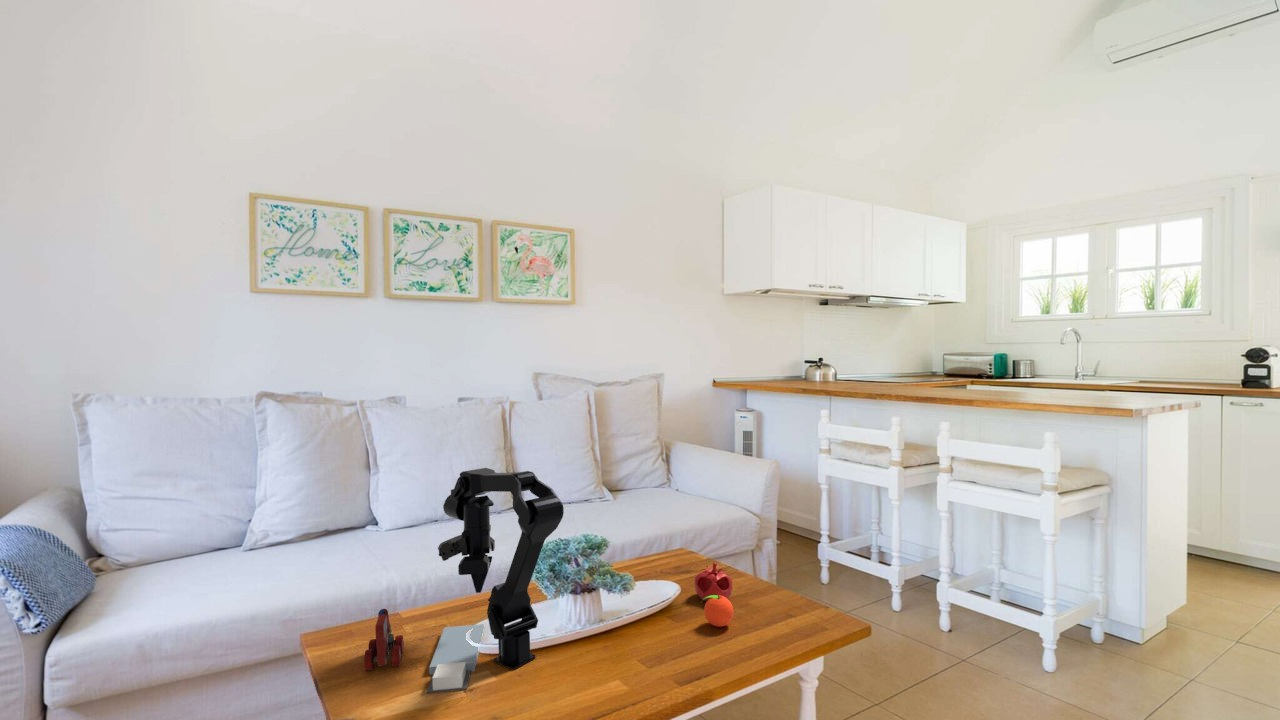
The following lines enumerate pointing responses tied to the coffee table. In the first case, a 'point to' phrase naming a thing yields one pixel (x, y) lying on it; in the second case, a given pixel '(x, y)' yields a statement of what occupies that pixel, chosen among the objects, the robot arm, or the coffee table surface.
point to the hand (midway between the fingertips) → (478, 592)
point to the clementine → (718, 610)
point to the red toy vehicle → (383, 644)
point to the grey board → (457, 647)
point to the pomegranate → (713, 583)
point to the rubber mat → (464, 687)
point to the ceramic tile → (449, 676)
